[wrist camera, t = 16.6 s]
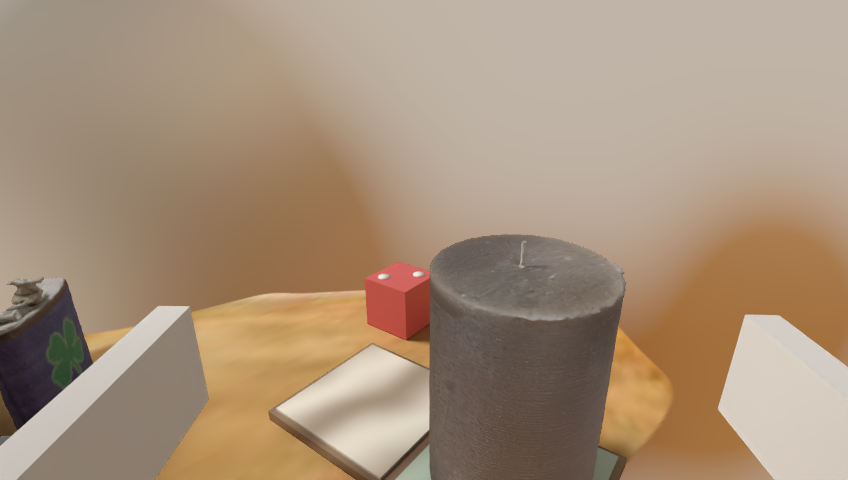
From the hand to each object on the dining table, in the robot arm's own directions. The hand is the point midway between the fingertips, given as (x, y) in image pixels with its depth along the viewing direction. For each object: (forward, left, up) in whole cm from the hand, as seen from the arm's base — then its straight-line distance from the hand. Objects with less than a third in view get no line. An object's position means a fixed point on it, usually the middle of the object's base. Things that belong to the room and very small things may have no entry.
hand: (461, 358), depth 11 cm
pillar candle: (-4, +12, -17) cm, 21 cm away
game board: (-9, +12, -17) cm, 23 cm away
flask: (-34, -2, -18) cm, 39 cm away
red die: (-21, +23, -17) cm, 36 cm away
